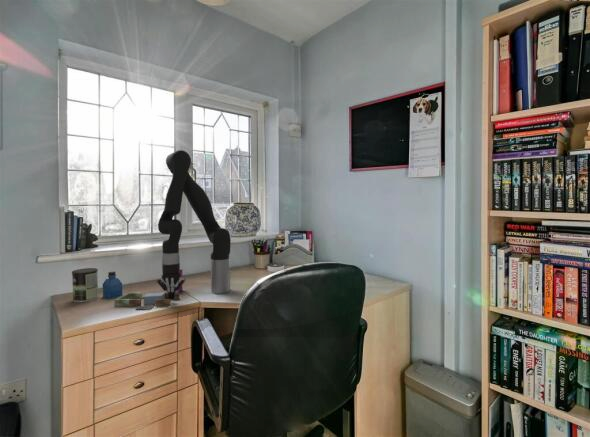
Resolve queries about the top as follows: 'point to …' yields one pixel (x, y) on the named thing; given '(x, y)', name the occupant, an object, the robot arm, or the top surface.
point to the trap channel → (135, 300)
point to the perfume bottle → (112, 286)
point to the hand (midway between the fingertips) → (171, 299)
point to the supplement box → (178, 283)
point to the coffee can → (85, 284)
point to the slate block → (153, 298)
